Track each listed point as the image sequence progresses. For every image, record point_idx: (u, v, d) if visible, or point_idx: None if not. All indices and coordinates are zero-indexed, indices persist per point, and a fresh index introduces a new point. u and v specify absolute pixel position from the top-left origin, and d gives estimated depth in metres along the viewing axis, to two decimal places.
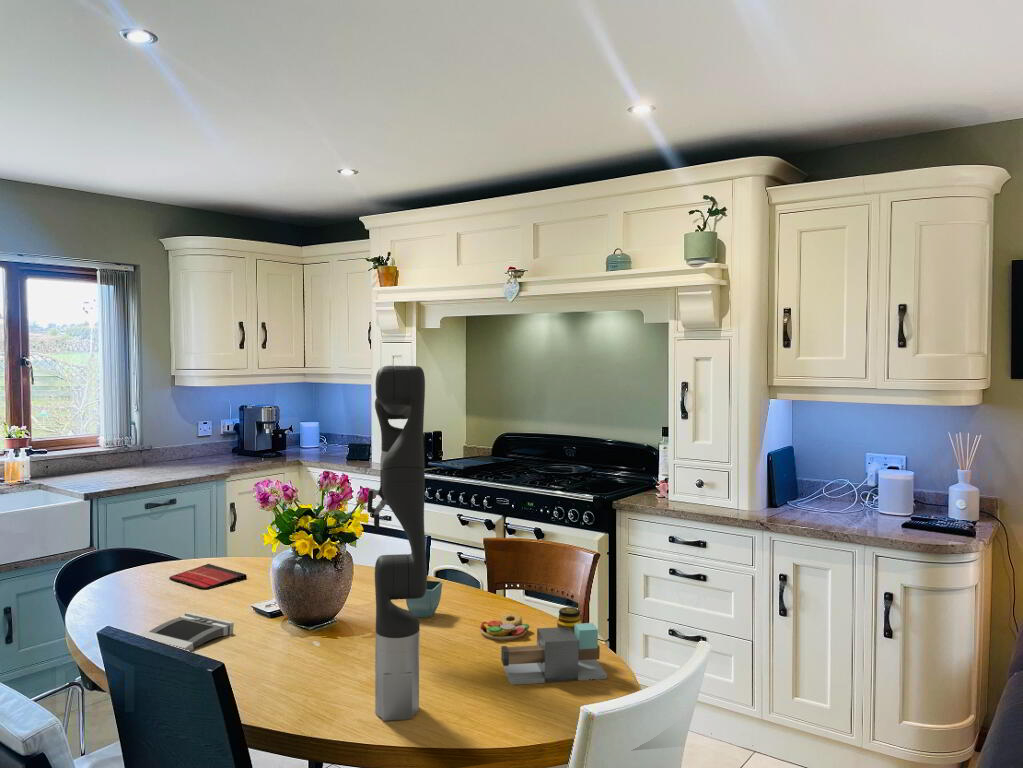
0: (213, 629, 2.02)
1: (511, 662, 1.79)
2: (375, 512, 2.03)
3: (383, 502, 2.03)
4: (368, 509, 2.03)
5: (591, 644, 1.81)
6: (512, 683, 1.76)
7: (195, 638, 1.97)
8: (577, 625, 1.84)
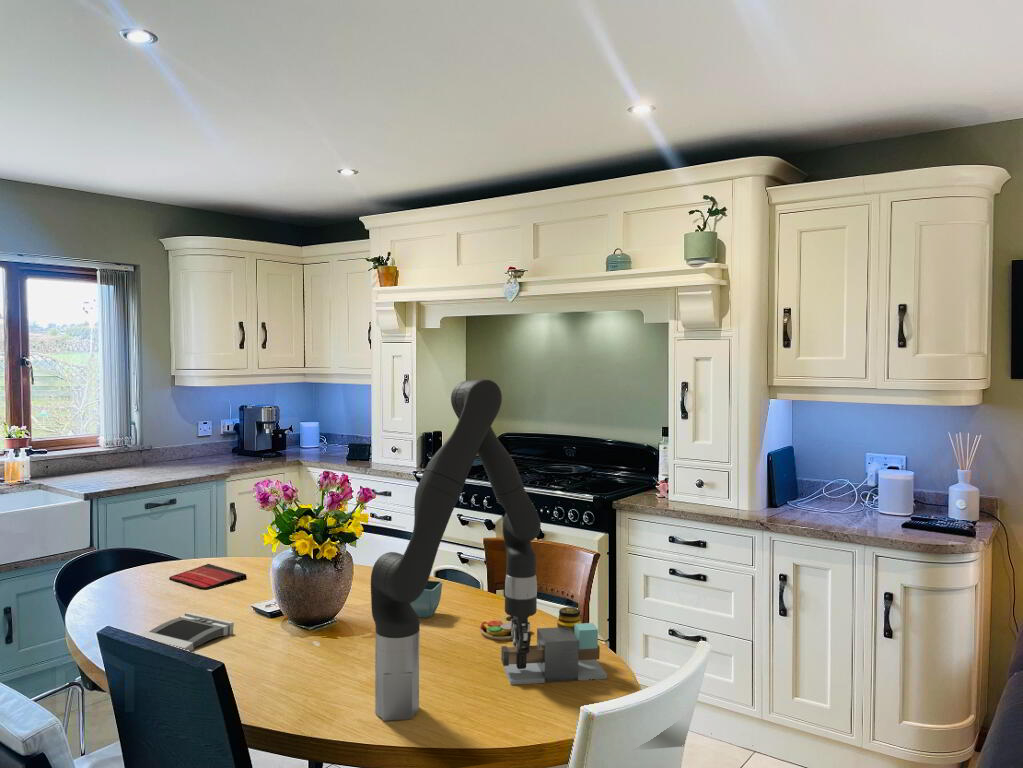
0: (213, 629, 2.02)
1: (511, 662, 1.79)
2: None
3: None
4: (528, 649, 1.77)
5: (591, 644, 1.81)
6: (512, 683, 1.76)
7: (195, 638, 1.97)
8: (577, 625, 1.84)
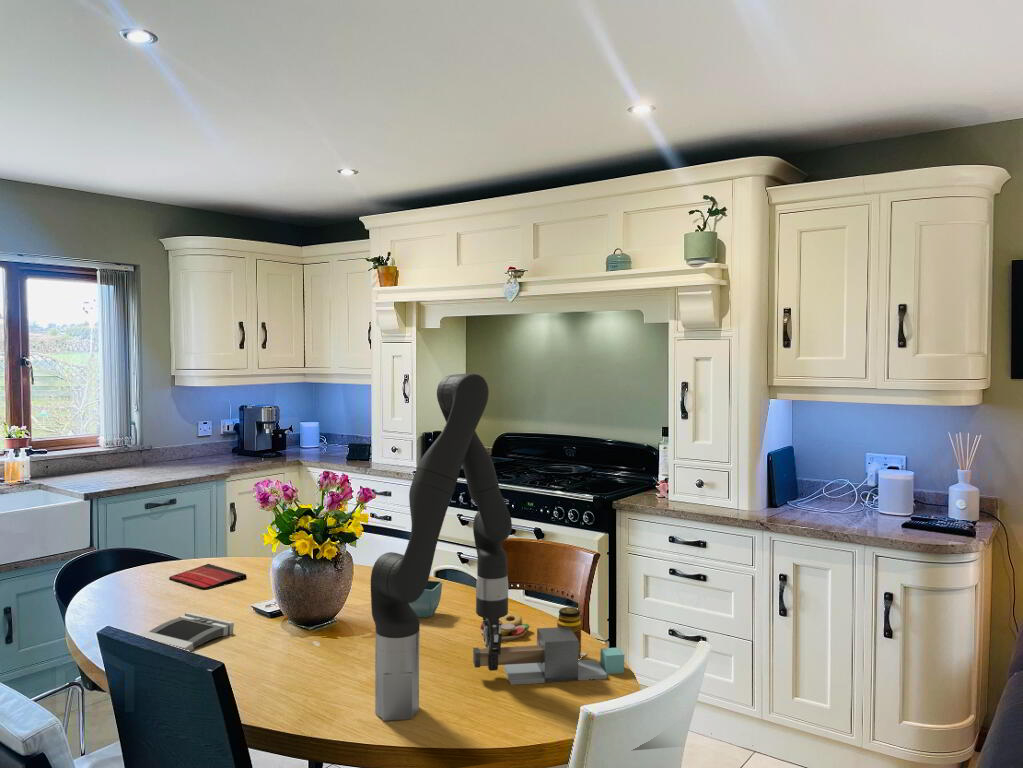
0: (213, 629, 2.02)
1: (483, 664, 1.78)
2: None
3: None
4: (500, 651, 1.75)
5: (611, 659, 1.83)
6: (512, 683, 1.76)
7: (195, 638, 1.97)
8: None
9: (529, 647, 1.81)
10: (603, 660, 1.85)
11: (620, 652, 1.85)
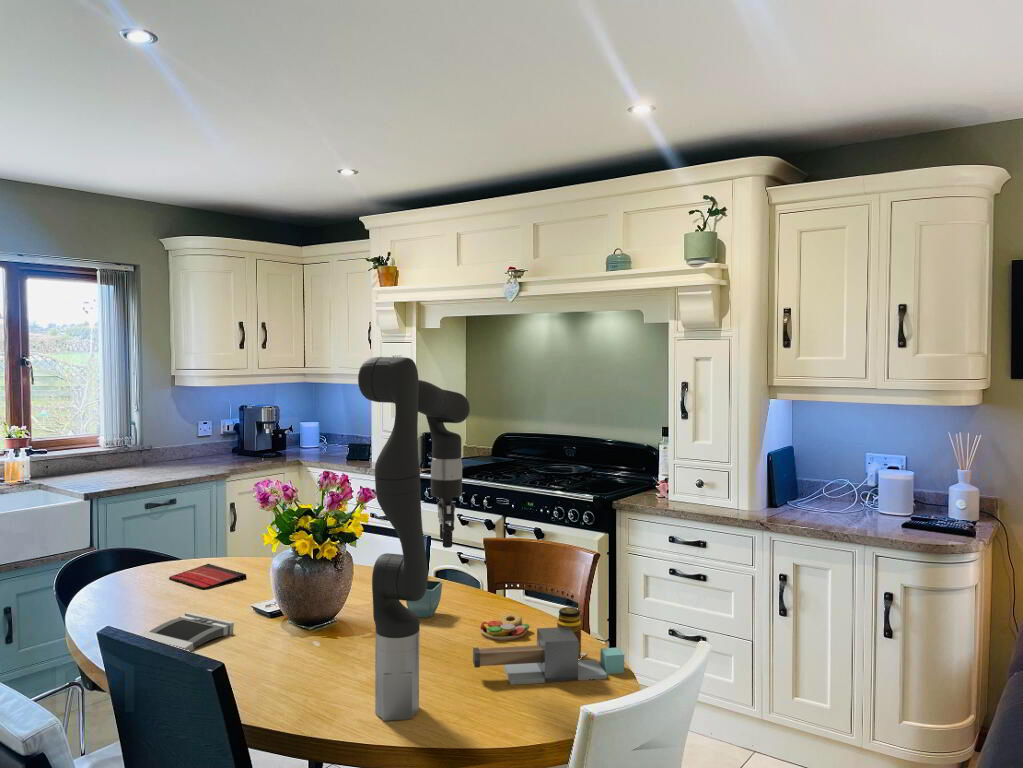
0: (213, 629, 2.02)
1: (482, 664, 1.78)
2: None
3: (454, 515, 1.82)
4: (453, 527, 1.78)
5: (611, 659, 1.83)
6: (512, 683, 1.76)
7: (195, 638, 1.97)
8: None
9: (529, 647, 1.81)
10: (603, 660, 1.85)
11: (620, 652, 1.85)
